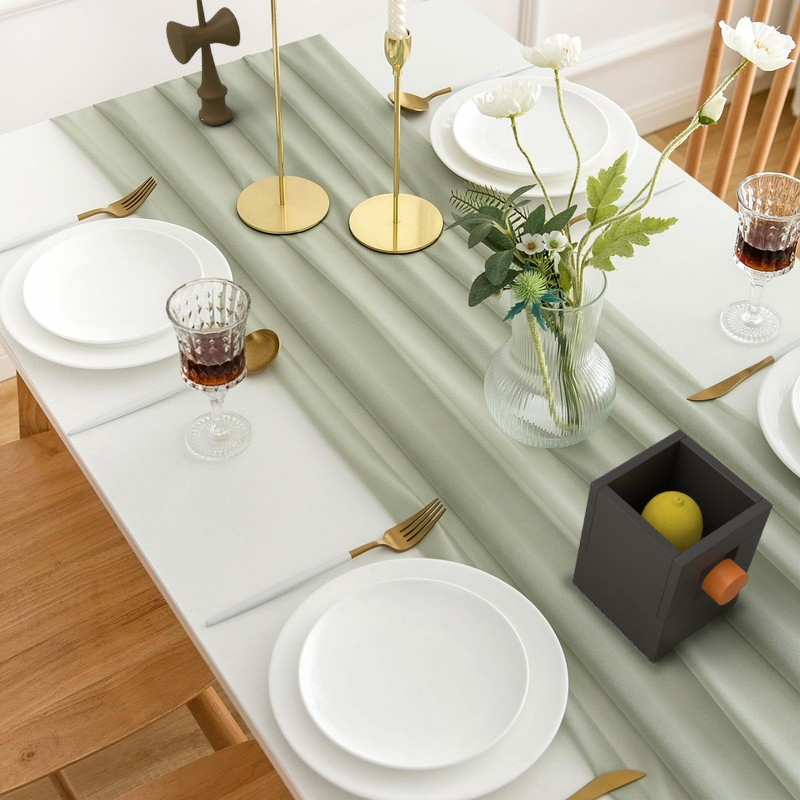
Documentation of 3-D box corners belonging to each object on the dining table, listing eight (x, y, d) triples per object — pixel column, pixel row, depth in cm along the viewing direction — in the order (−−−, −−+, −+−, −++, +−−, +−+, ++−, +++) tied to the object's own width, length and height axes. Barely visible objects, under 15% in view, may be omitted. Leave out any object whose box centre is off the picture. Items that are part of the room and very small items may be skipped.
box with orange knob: (735, 603, 104) (773, 504, 93) (652, 663, 99) (682, 566, 88) (653, 529, 110) (679, 428, 99) (571, 582, 105) (590, 482, 95)
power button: (743, 591, 95) (752, 567, 93) (715, 611, 94) (723, 587, 91) (726, 576, 96) (735, 551, 94) (698, 595, 95) (706, 571, 92)
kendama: (178, 120, 165) (156, -8, 151) (234, 101, 169) (218, -25, 155) (196, 137, 162) (175, 9, 147) (253, 118, 165) (238, -10, 151)
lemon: (638, 579, 98) (652, 524, 93) (628, 530, 102) (641, 475, 97) (699, 578, 98) (717, 523, 93) (687, 529, 102) (703, 474, 97)
